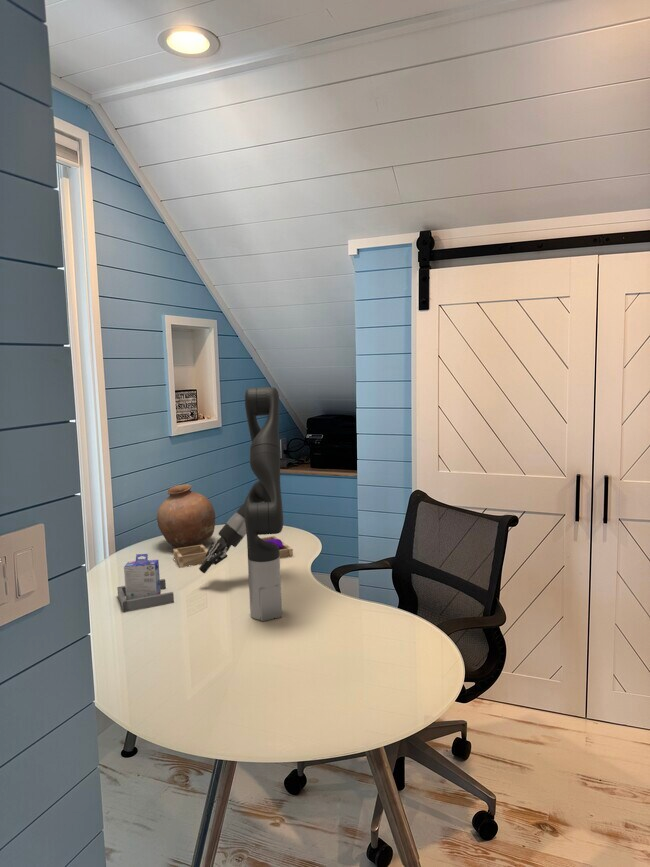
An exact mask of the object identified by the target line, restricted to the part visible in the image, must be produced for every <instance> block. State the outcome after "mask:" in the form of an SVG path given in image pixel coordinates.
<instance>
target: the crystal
mask: <svg viewBox="0 0 650 867" xmlns="http://www.w3.org/2000/svg"><path fill="white" fill-rule="evenodd" d="M265 541H267V542H270V543H273V544H275V545H277V546H278V547H279V550H281V549H283V544H282V542H283V541H282V540H281V539H279V538H278V539H269V540H265Z"/></svg>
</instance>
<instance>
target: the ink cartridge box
mask: <svg viewBox="0 0 650 867" xmlns="http://www.w3.org/2000/svg"><path fill="white" fill-rule="evenodd" d="M148 555H149V554H148V553H138V554H137V553H136V555H135V560H134V561H133V560H132V561H127V563H126V564H125V565H124V566H123V570H124V571H123V572H124V586H125V589H126V596H125V597H126V600H131V599H137V598H142V597H147V596H153V595H158V594H162V593H161V590H162V589H161V590H160V579H161V577H160V566H159V565H160V563H159V559H149V560H148V558H149V557H148ZM140 557H144V558H140Z"/></svg>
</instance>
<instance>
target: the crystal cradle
mask: <svg viewBox="0 0 650 867" xmlns="http://www.w3.org/2000/svg"><path fill="white" fill-rule="evenodd" d="M260 538H261V539H262V540H264V541H265V540H269V539H279V538H278V537H276V536H275V535H271V536H265V537H260ZM282 544H283V549H281V550H279V552H280V559H283V558H284V557H285V558H292V556H293V557H294V555H293V554H294V551H293V550H294V549H293V548H292V547H291V546H289V545H288V544H286V543H285V542H283V541H282ZM285 558H284V559H285Z"/></svg>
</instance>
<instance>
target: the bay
mask: <svg viewBox="0 0 650 867" xmlns="http://www.w3.org/2000/svg"><path fill="white" fill-rule="evenodd" d="M166 586H167V585H166V579H165V578H160V589H161V590H164V589H163V588H166ZM117 596H118V600H119V603H120V605H121V609H122V611H123V613H127V612H130V611H136V610H142V609H146V608H151V607H157V606H161V605H166V604H172V603H174V602H175V598H174V592H173V591H169V592H164V593H161V594H158V595H153V596H147V597H142V598H137V599H131V600H126V589H125V585H121V586H117Z"/></svg>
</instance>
